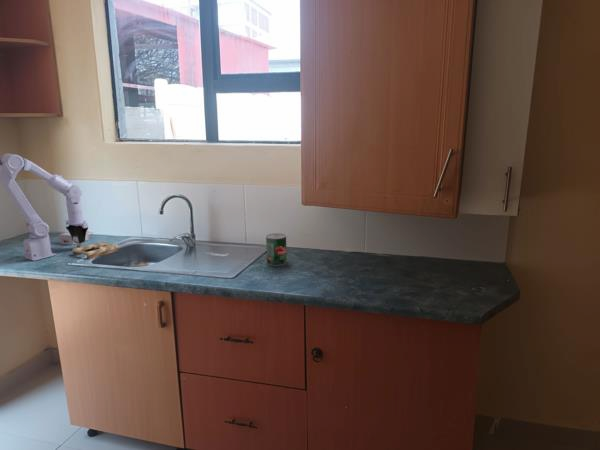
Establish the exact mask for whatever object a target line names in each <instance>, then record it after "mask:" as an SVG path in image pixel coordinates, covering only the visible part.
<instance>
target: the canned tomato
mask: <svg viewBox="0 0 600 450" xmlns="http://www.w3.org/2000/svg"><path fill="white" fill-rule="evenodd" d="M265 244H266V247H265V248H266V264H267V265H268V266H271V267H272V266H273V267H280V266H285V265H287V263H288V259H287V258H288V255H287V254H288V252H287V234H285V233H284V234H283V233H280V232H279V233H270V234H267V235H266V236H265Z"/></svg>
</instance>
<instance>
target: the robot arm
mask: <svg viewBox="0 0 600 450" xmlns="http://www.w3.org/2000/svg"><path fill="white" fill-rule="evenodd" d="M20 171H28V172H30V173H33V174H34V175H36V176H38V177H39V178H41V179H43V180H45V181H46V183H47V186H49V187H50V188H52V189H54V190H55V191H57V192H59V193H61V194H62V195H63V196H64V197H65V203H66V204H65V205H66V211H67V218H68V219H65V229H66V230H67V231H68V232H69V233H70V235H71V237H72V239H73V236H75V235H77V236H78V240H79V243H82V244H83V243H85V242H86V241H85V236H86V232H87V231H88V229H89V225H88V224H89V223H88V222H86V220H85V219H84V216H83V209H82V208H83V207H82V202H81V196H82V190H81V189H80V187H79V186H78V185H74V184H73V181H68V180H66V179H65V178H63V175H61V174H57V173H55V174H51V173H49V172H48V171H46V170H45V169H43V168H42V167H40V166H39V165H37V164H36V163H35V162H32V161H31V160H28V159H27V158H25V157H23V156H21V155H19V154H13V153H4V154H2V155H1V157H0V184H1V186H2V188H3V189H4V191H5V192H6V193H7V195H8V196H9V198H10V200H11V201H12V202H13V204H14V206H15V207H16V209H17V210H18V212H19V214H21V216H22V217H23V221H24V223H25V224H26V229H27V231H28V232H29V235H28V238H25V239H24V240H23V242H22V245H23V246H22V247H23V252H24V259H27V260H30V261H33V262H34V261H38V260H43V259H46V258H51V257H55V256H57V254H56V253H54V252H53V251H52V247H51V240H50V235H49V232H50V226H49V225H48V223H46V222H45V221H44V220H42V219H41V217H40V216H39V215H38V214H37V212H36V211H35V209H34V208H33V206H32V205H31V203H30V202H29V200H28V199H27V197H26V196H25V194H24V192H23V191H22V189H21V188H20V187H19V185H18V183H17V182H16V180H15V179H16V178H17V175H18V173H20ZM67 225H68V226H67Z"/></svg>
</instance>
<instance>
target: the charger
mask: <svg viewBox="0 0 600 450" xmlns="http://www.w3.org/2000/svg"><path fill="white" fill-rule="evenodd" d="M93 233H94V232H93V231H88V230H87V232H86V236H85V242H88V241H89V240H90V239H89V238H90V237H91V236H92V235H93ZM57 237H58V242H59V244H61V245H67V246H68V245H69V246H75V245H77V243H74V242H73V239H72V237H71V235H70V233H69V231H68V232H64V233H60V234H58V235H57Z"/></svg>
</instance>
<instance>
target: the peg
mask: <svg viewBox="0 0 600 450" xmlns="http://www.w3.org/2000/svg"><path fill="white" fill-rule="evenodd" d="M73 242H74V243H77V244H76V246H73V248H72V250H73V249H76V248H80V247H84V246H85V245H83V243H79V240H78V236H77V235H75V236H73Z"/></svg>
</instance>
